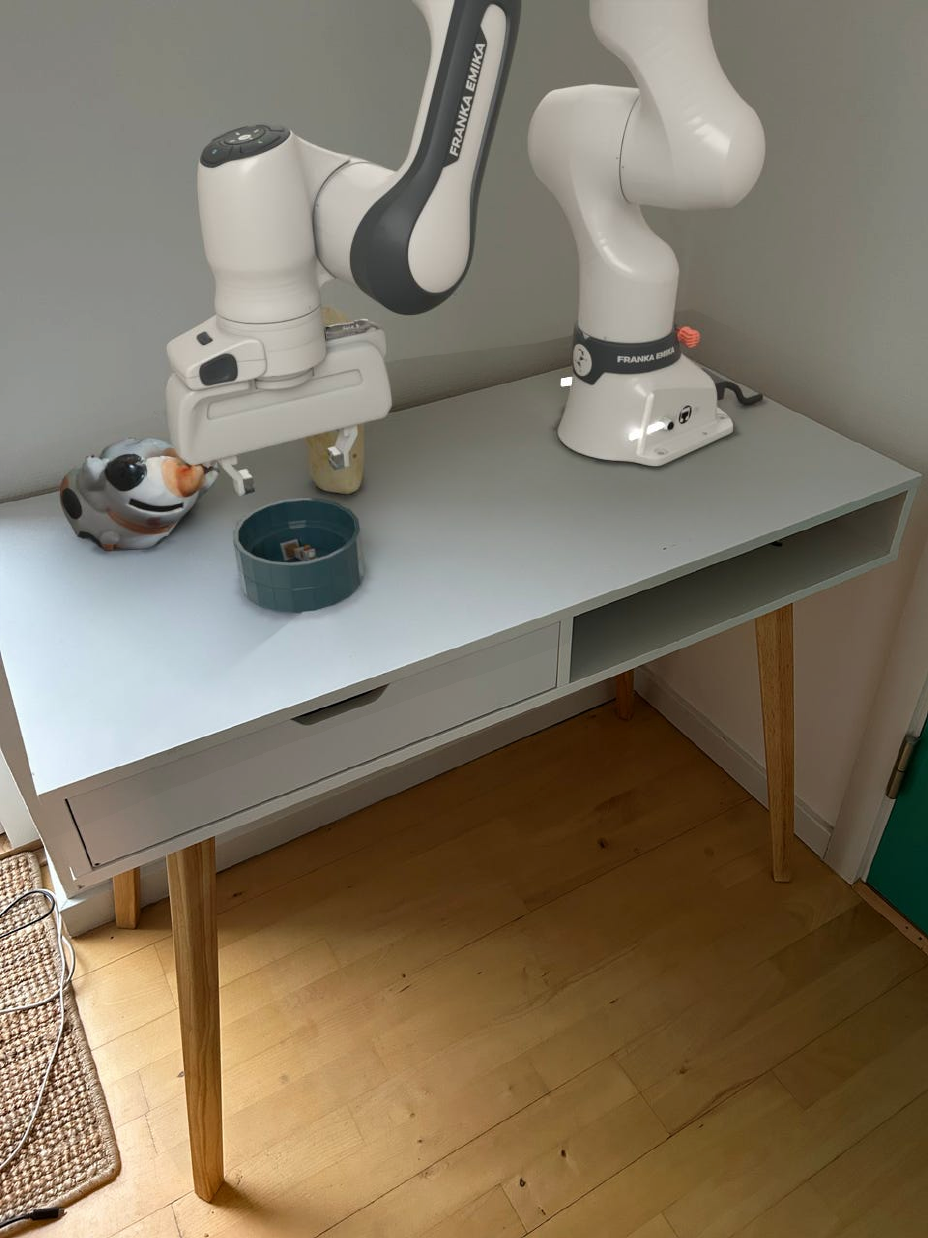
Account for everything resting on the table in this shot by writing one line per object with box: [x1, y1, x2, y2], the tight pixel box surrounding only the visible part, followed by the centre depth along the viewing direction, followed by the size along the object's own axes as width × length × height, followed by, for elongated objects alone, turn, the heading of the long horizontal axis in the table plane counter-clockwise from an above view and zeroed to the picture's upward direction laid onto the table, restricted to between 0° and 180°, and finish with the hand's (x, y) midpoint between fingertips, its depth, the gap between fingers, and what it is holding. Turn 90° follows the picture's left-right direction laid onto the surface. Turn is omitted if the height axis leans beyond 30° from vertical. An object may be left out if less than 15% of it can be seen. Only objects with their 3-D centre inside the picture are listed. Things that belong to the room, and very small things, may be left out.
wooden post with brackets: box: [280, 539, 317, 561], centre depth 98 cm, size 2×8×4 cm, turn 29°
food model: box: [304, 306, 365, 495], centre depth 109 cm, size 10×7×20 cm
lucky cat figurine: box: [59, 437, 221, 551], centre depth 104 cm, size 15×12×14 cm
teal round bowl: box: [232, 497, 365, 613], centre depth 98 cm, size 12×12×6 cm
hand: (293, 478), depth 93 cm, fingers open, 8 cm apart
